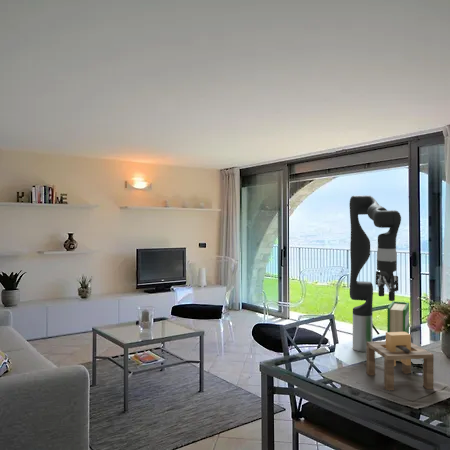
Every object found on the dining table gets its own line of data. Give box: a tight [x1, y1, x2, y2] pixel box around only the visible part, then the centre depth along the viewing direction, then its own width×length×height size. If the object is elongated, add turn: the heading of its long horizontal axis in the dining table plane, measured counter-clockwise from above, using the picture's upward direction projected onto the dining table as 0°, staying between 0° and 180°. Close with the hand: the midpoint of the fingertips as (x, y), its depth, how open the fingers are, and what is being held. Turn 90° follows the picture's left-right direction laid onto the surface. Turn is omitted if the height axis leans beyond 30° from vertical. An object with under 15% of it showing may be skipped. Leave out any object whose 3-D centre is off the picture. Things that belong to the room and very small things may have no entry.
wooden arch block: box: [385, 332, 412, 367], centre depth 165 cm, size 4×8×12 cm, turn 95°
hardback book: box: [386, 300, 410, 362], centre depth 193 cm, size 18×7×24 cm, turn 151°
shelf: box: [365, 340, 434, 392], centre depth 165 cm, size 18×18×15 cm
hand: (386, 298), depth 172 cm, fingers open, 8 cm apart
